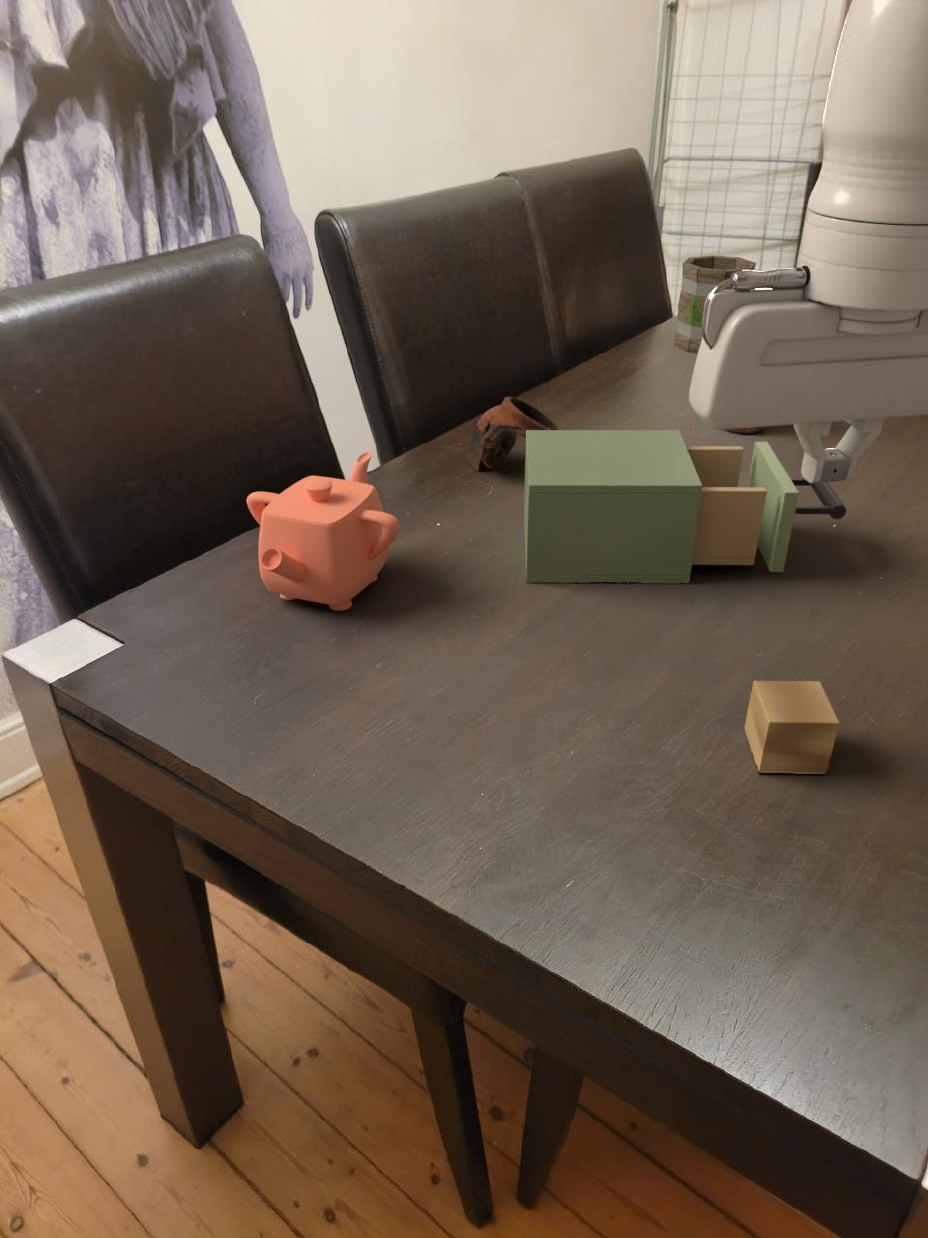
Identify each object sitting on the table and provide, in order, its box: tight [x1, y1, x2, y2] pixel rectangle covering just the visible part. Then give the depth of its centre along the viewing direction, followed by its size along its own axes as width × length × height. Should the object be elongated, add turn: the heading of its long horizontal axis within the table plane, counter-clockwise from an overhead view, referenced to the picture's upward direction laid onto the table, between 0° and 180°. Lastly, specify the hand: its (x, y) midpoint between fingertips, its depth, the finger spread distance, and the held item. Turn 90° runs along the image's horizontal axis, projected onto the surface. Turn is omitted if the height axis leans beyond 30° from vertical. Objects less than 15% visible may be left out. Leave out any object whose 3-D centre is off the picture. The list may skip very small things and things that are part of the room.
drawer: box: [685, 441, 847, 573], centre depth 85 cm, size 19×11×8 cm, turn 88°
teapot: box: [246, 451, 401, 612], centre depth 81 cm, size 14×12×10 cm
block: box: [743, 680, 840, 773], centre depth 62 cm, size 4×4×4 cm
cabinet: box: [523, 429, 702, 585], centre depth 86 cm, size 15×13×10 cm
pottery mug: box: [466, 396, 560, 472], centre depth 104 cm, size 12×10×8 cm
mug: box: [673, 254, 757, 354], centre depth 139 cm, size 16×11×12 cm
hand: (825, 478), depth 63 cm, fingers closed
